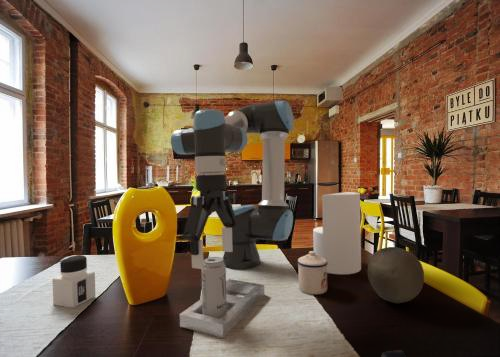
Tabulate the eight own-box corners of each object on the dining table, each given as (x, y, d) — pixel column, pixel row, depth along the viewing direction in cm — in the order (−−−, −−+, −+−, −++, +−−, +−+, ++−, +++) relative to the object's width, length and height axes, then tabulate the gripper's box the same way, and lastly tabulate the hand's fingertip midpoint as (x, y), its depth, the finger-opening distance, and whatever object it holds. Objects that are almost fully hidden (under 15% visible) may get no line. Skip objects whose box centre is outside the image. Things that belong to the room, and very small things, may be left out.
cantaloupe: (360, 291, 84) (359, 242, 84) (408, 291, 84) (408, 241, 83) (379, 315, 70) (378, 256, 70) (437, 316, 69) (436, 255, 69)
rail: (229, 288, 89) (229, 279, 89) (264, 294, 84) (264, 284, 84) (179, 326, 67) (179, 314, 67) (223, 338, 62) (222, 324, 62)
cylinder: (369, 266, 107) (368, 192, 106) (344, 278, 95) (343, 196, 95) (330, 256, 120) (329, 191, 119) (304, 266, 109) (303, 193, 108)
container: (96, 296, 85) (94, 254, 85) (72, 308, 78) (71, 262, 78) (77, 293, 88) (75, 252, 87) (52, 305, 80) (51, 259, 80)
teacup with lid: (328, 296, 82) (327, 256, 81) (297, 294, 84) (296, 255, 84) (327, 281, 93) (326, 246, 93) (299, 279, 95) (298, 245, 95)
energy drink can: (223, 326, 67) (222, 263, 67) (199, 325, 68) (197, 263, 67) (229, 314, 73) (227, 256, 72) (207, 312, 74) (205, 256, 73)
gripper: (192, 175, 57) (196, 279, 57) (246, 172, 79) (249, 247, 80) (163, 176, 60) (167, 274, 61) (223, 173, 82) (226, 244, 83)
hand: (214, 259), depth 70 cm, fingers open, 13 cm apart
